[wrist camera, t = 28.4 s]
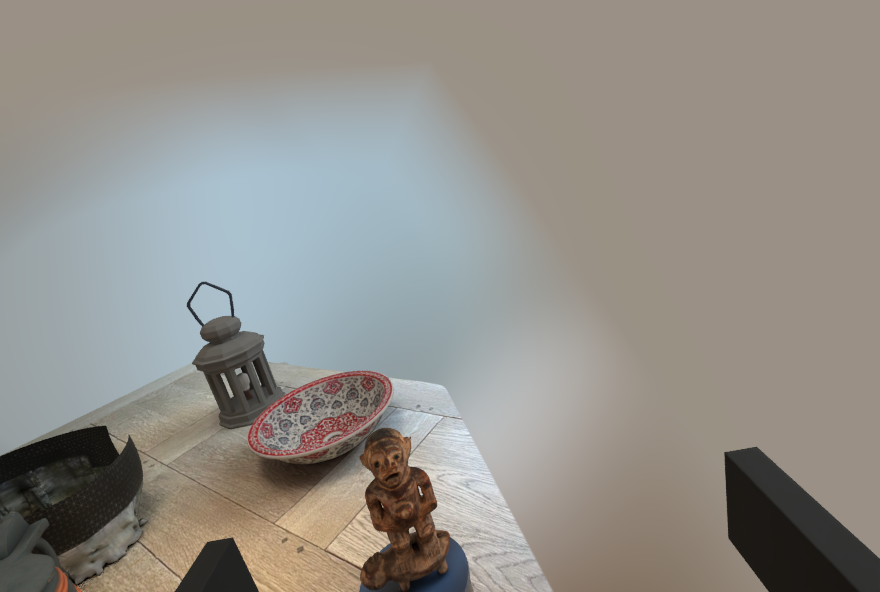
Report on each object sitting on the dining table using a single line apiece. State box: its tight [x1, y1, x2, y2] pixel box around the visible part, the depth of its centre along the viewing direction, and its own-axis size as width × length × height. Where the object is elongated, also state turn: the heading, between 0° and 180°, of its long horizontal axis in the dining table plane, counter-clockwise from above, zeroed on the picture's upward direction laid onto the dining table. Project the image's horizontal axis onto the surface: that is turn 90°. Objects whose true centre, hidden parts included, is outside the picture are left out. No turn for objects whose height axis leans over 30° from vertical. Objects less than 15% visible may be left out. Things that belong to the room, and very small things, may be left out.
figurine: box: [360, 428, 450, 592], centre depth 36 cm, size 7×7×15 cm
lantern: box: [187, 282, 286, 429], centre depth 103 cm, size 17×17×35 cm
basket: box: [0, 426, 147, 585], centre depth 71 cm, size 28×35×16 cm
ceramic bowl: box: [247, 371, 394, 464], centre depth 84 cm, size 29×29×8 cm
